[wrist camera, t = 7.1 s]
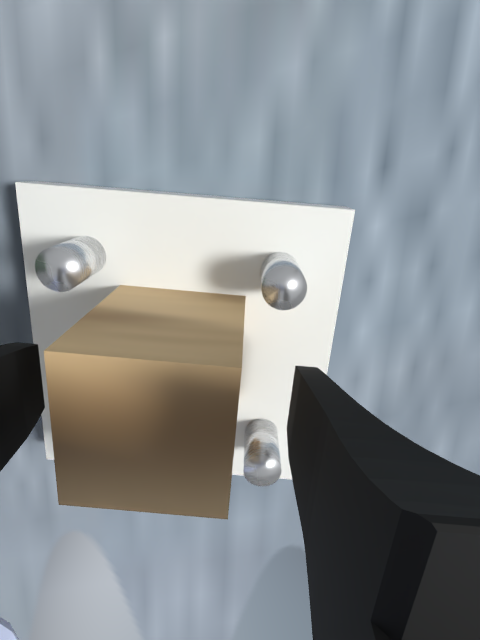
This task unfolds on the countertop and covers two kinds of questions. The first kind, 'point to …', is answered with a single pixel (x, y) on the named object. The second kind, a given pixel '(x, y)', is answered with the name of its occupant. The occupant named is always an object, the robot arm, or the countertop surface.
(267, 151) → the countertop surface
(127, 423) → the block
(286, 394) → the plate
